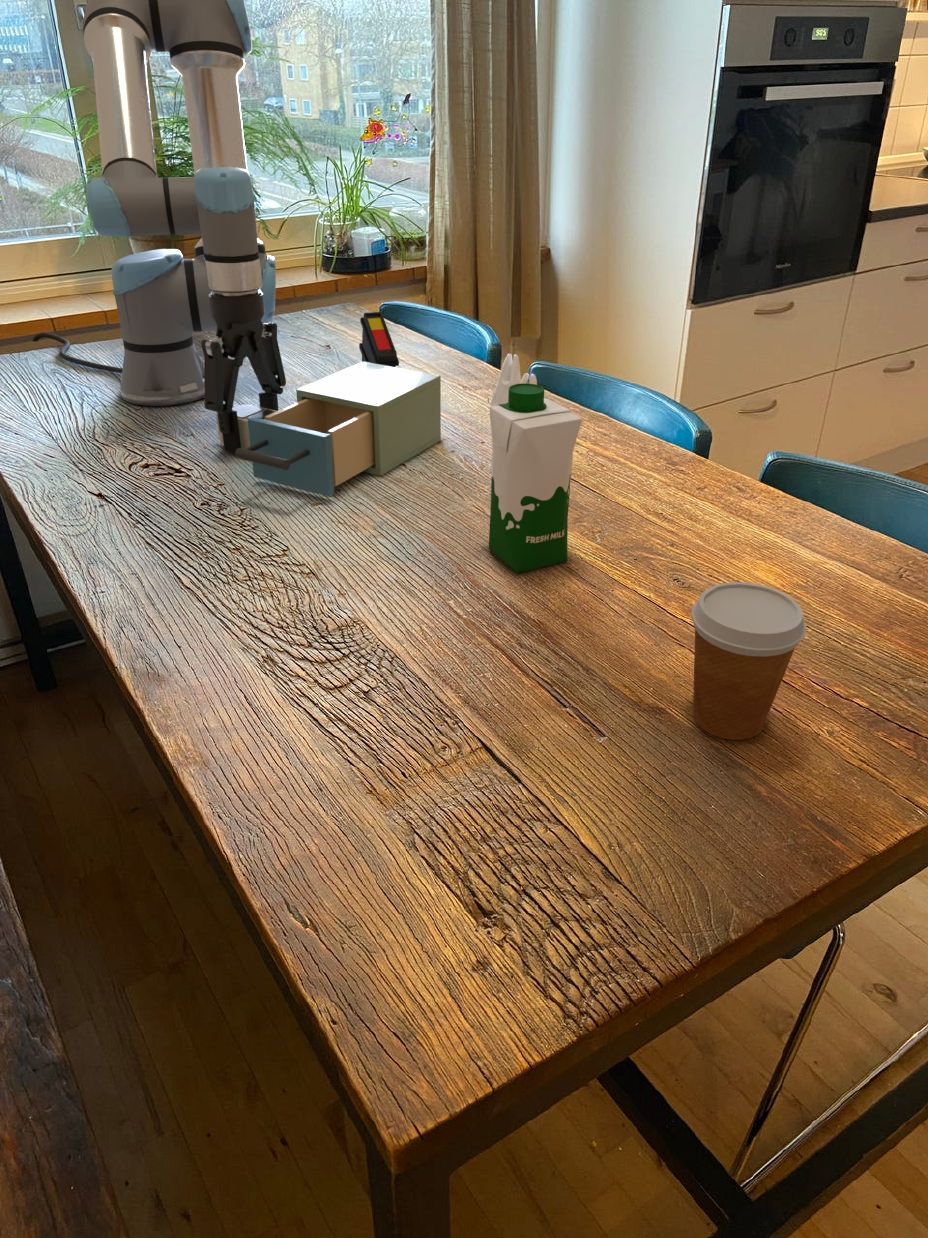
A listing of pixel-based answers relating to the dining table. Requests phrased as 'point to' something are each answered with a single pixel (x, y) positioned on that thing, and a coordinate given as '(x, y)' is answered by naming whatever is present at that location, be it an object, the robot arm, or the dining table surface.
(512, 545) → the milk carton
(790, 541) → the dining table surface
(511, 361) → the shaker set
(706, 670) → the disposable coffee cup
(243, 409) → the cream box
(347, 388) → the cabinet
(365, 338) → the black switch panel
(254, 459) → the drawer
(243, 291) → the robot arm
